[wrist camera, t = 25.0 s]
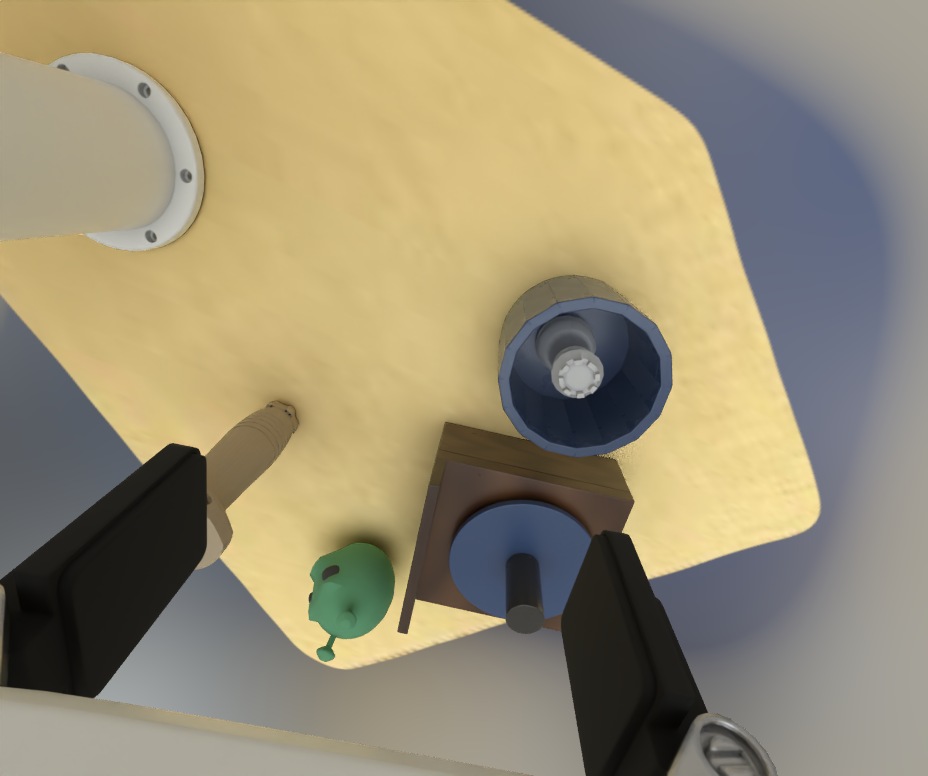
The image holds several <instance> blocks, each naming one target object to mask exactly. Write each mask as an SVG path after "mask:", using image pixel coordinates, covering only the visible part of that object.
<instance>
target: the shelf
mask: <svg viewBox="0 0 928 776" xmlns="http://www.w3.org/2000/svg"><path fill="white" fill-rule="evenodd" d="M510 500H533V501H539V502H544V503H547V504H551V505H553V506H556V507H558V508H561V509H562V510H564V511H566V512H568V513H569V514H571V515H572V516H573V517H575V518H576V519H577V520H578V521H579V522H580V523H581V524H582V525H583V526H584V527H585V528H586V530H587V531H588V532H589V534H590V536H591V537H592V538H593V536H594V535H595V534H598V535H600V534H601V532H602V531H603V530H609V531H614V532H619V533H622V530H623V528H624V526H625V523H626V521H627V519H628V516H629V514H630V511H631V509H632V507H633V504H634V500H633V497H632V495H631V493H630V491H629V488H628V486H627V484H626V481H625V479H624V477H623V474H622V472H621V469H620V467H619V465H618V462H617V461H616V460H612V459H608V458H604V457H599V456H595V455H592V456H584V457H572V456H567V455H563V454H558V453H554V452H550V451H546V450H544V449H542V448H541V447H539V446H538V445H536V444H535V443H533V442H532V441H528V440H523V439H519V438H514V437H510V436H505V435H501V434H497V433H492V432H488V431H483V430H479V429H474V428H470V427H465V426H461V425H456V424H452V423H447V422H445V425H444V429H443V432H442V436H441V440H440V444H439V448H438V452H437V455H436V459H435V463H434V467H433V471H432V475H431V478H430V482H429V486H428V491H427V496H426V500H425V505H424V510H423V514H422V519H421V524H420V528H419V533H418V538H417V542H416V547H415V552H414V556H413V561H412V566H411V570H410V575H409V580H408V584H407V589H406V594H405V598H404V603H403V608H402V612H401V617H400V622H399V626H398V632H400V633H404V634H407V633H408V629H409V624H410V620H411V616H412V611H413V607H414V602H415V599H417V600H422V601H426V602H431V603H435V604H440V605H444V606H449V607H453V608H458V609H462V610H467V611H471V612H476V613H480V614H485V615H489V616H493V615H491V614H488V613H486V612H484V611H482V610H480V609H479V608H477V607H476V606H474V605H473V604H472V603H470V602H469V601H468V600H467V599H466V598H465V597H464V596H463V595H462V594H461V593H460V591H459V590H458V588H457V587H456V585H455V583H454V581H453V579H452V576H451V573H450V568H449V553H450V547H451V543H452V540H453V538H454V536H455V534H456V532H457V530H458V529H459V528H460V526H461V525H462V524H463V523H464V522H465V521H466V520H467V519H468V518H469V517H470V516H472V515H473V514H474V513H476V512H477V511H479V510H481V509H483V508H485V507H487V506H490V505H492V504H496V503H499V502H504V501H510ZM494 617H496V616H494ZM561 617H562V614H559V615H557V616H554V617H551V618H547V619H545V620H544V624H543V626H542V627H543V628H548V629H552V630H557V631H561ZM498 618H500V617H498Z"/></svg>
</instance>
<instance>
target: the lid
mask: <svg viewBox="0 0 928 776" xmlns="http://www.w3.org/2000/svg"><path fill="white" fill-rule="evenodd" d="M591 540H592V537H591V536H590V534H589V532H588V531H587V530H586V528H585V527H584V526H583V525H582V524H581V523H580V522H579V521H578V520H577V519H576V518H575V517H573V516H572V515H571V514H569V513H568V512H566V511H564V510H562V509H561V508H558V507H556V506H553V505H551V504H547V503H544V502H539V501H533V500H510V501H504V502H499V503H496V504H492V505H490V506H487V507H485V508H483V509H481V510H479V511H477V512H476V513H474V514H473V515H472V516H470V517H469V518H468V519H467V520H466V521H465V522H464V523H463V524H462V525H461V526H460V528H459V529H458V530H457V532H456V534H455V536H454V538H453V540H452V543H451V547H450V553H449V568H450V573H451V576H452V579H453V581H454V583H455V585H456V587H457V588H458V590H459V591H460V593H461V594H462V595H463V596H464V597H465V598H466V599H467V600H468V601H469V602H470V603H472V604H473V605H474V606H476V607H477V608H479V609H480V610H482V611H484V612H486V613H488V614H491V615H493V616H496V617H500V618H503V619H506V623H507V624H508V626H509V627H510V628H511V629H512V630H514V631H516V632H518V633H525V634H528V633H533V632H536V631H538V630H539V629H540V628H541V627H542V626H543V624H544V620H545V619H547V618H551V617H554V616H557V615H559V614H562V613H563V610H564V608H565V605H566V603H567V600H568V598H569V595H570V593H571V590H572V588H573V585H574V583H575V580H576V578H577V575H578V573H579V570H580V568H581V565H582V563H583V560H584V558H585V555H586V553H587V550H588V548H589V545H590V543H591Z"/></svg>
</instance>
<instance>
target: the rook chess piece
mask: <svg viewBox="0 0 928 776" xmlns="http://www.w3.org/2000/svg"><path fill="white" fill-rule="evenodd" d="M595 351H596V340H595V337H594V334H593V332H592V330H591V328H590V326H589V325H588V324H587V323H586V322H584V321H583V320H582V319H581V318H577V317H574V316H570V315H567V316H559V317H556V318H554V319H552V320H550V321H548V322H547V323H546V324H545V325H544V326H543V327H542V328H541V330H540V331H539V333H538V336H537V339H536V352H537V355H538V357H539V359H540V360H541V362H542V364H543V366H545V367H546V368H547V369H549V370H550V371H551V376H552V382H553V384H554V386H555V388H556V389H557V390H558V391H559V392H560V393H562V394H563V395H565V396H569V397H572V398H585V396H587V395H589V394H591V393H592V394H593V392H594V391H595V390H596V389H597V388H598V387H599V386H600V384H601V381H602V379H603V376H604V373H603V365H602V363H601V361H600V359H599V358H598V357H597V356H596V355H594V354H595Z"/></svg>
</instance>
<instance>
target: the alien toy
mask: <svg viewBox="0 0 928 776" xmlns="http://www.w3.org/2000/svg"><path fill="white" fill-rule="evenodd" d="M310 576H311V578H312V580H313V582H314V587H313V592H312V593H310V595H309V603H310V604H309V611H308V613H309V620H311V621H316V622H318V623H319V624H320V626H321V627H322V628H323V629H324V630H325V631H326V632H327V633H329V634H330V635H331V636H330V638H329V640H328V643H327V645H326V646H324V647H321V648H318V649H317V651H316V652H317V655H318V657H319V659H320V660H322V661H324V662H327V661H330V660H333V659H334V657H335V654H334V652H333V650H332V649H331V647H332V645H333V643H334V641H335V638H336V637H337V638H341V639H353V638H357V637H360V636H363V635H365V634H366V633H368V632H370V631H371V630H373V629H374V628H375V627H376V626H377V625H378V624H379V623H380V622H381V620H382V619H383V618H384V616H385V615H386V613H387V611H388V608H389V606H390V604H391V602H392V599H393V594H394V585H395V576H394V571H393V567H392V564H391V562H390V560H389V559H388V557H387V556H386V554H385V553H384V552H383V551H382V550H381V549H379V548H377V547H376V546H374V545H371V544H367V543H353V544H350V545H348V546H346V547H344V548H342V549H340V550H337V551H335V552H332V553H330V554H327V555H324V556H322V557H320V558H319V559H318V560H317V562H316V563H315V564H314V566H313V568H312V570H311V573H310Z"/></svg>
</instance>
